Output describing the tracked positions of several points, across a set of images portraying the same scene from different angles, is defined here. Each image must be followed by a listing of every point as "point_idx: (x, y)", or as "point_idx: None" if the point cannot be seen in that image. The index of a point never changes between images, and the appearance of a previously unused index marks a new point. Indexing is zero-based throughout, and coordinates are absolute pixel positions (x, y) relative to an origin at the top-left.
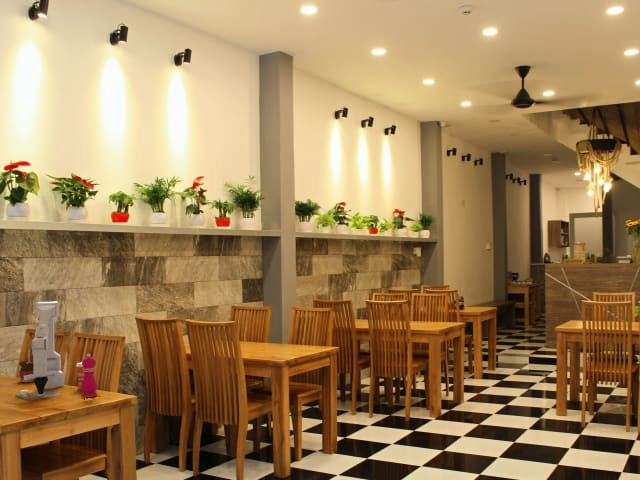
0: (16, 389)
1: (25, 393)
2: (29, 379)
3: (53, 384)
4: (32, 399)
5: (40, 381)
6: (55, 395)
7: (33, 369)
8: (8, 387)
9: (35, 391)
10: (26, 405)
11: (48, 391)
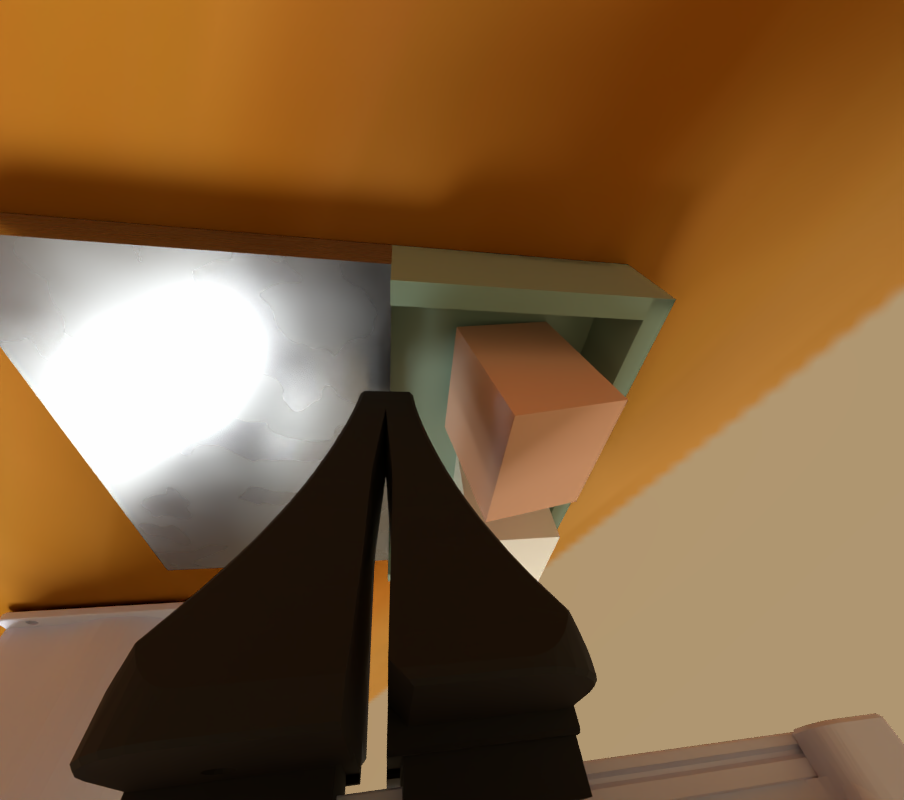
0: None
1: (537, 512)
2: (743, 746)
3: (89, 673)
4: (608, 279)
5: (471, 609)
6: (150, 265)
7: None
8: None
9: (538, 408)
10: (770, 154)
11: (193, 560)
